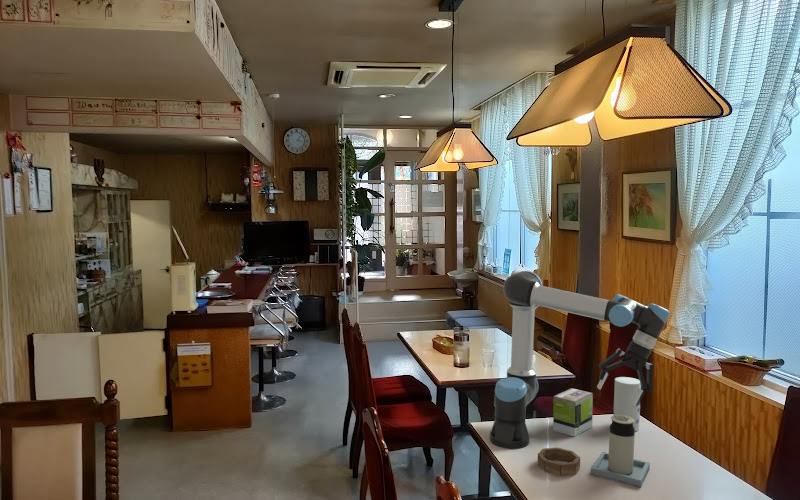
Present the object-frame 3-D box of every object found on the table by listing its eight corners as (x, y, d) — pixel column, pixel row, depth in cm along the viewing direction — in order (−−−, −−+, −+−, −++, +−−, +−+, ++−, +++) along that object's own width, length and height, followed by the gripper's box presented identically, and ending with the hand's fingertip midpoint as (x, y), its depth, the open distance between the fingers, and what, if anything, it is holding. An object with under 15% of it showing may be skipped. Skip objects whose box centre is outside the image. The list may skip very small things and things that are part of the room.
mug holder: (533, 469, 200) (533, 458, 200) (546, 455, 211) (546, 444, 211) (572, 479, 193) (572, 467, 193) (583, 464, 204) (583, 453, 204)
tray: (590, 475, 196) (590, 468, 196) (602, 458, 210) (602, 451, 210) (640, 487, 188) (641, 480, 187) (649, 469, 201) (649, 462, 201)
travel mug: (610, 473, 195) (612, 421, 194) (606, 463, 203) (608, 413, 202) (635, 475, 194) (637, 423, 193) (630, 465, 202) (632, 415, 201)
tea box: (570, 421, 246) (571, 387, 245) (592, 427, 239) (594, 392, 238) (552, 430, 236) (553, 394, 235) (574, 437, 228) (575, 401, 227)
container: (641, 433, 234) (643, 384, 232) (615, 431, 236) (617, 382, 234) (636, 424, 243) (638, 377, 242) (611, 422, 245) (613, 375, 244)
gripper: (612, 331, 208) (586, 384, 209) (677, 362, 206) (651, 415, 207) (607, 328, 215) (582, 378, 217) (670, 357, 213) (644, 408, 215)
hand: (615, 396), depth 212 cm, fingers open, 13 cm apart
